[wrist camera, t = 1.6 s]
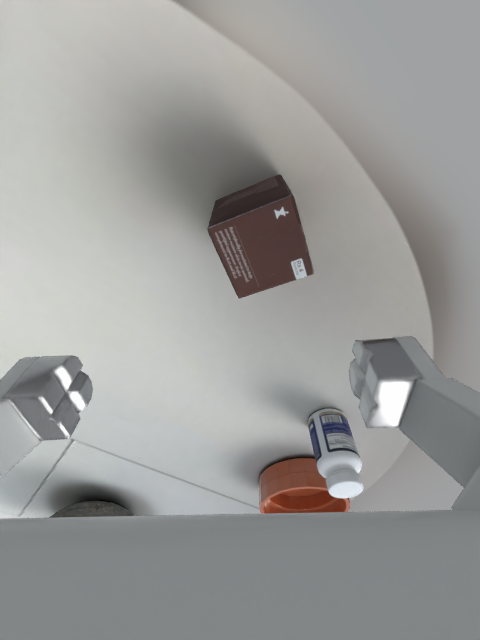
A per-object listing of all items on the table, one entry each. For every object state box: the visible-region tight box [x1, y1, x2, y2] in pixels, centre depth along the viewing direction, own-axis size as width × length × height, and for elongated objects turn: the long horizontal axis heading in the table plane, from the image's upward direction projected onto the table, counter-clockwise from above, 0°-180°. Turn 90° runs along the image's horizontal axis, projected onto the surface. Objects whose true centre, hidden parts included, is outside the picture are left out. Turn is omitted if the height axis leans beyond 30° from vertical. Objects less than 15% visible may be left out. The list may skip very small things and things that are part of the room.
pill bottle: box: [308, 409, 363, 498], centre depth 39 cm, size 5×5×10 cm
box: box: [207, 175, 314, 298], centre depth 24 cm, size 6×6×7 cm
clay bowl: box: [258, 458, 350, 514], centre depth 50 cm, size 14×14×5 cm
